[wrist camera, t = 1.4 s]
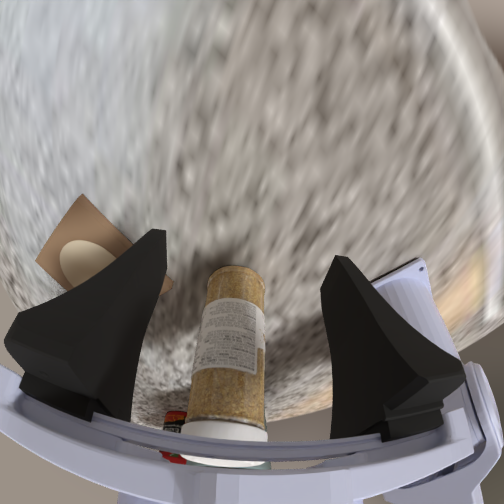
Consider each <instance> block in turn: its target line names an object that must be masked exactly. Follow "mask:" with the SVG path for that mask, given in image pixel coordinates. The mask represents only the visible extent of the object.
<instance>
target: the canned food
mask: <svg viewBox="0 0 504 504" xmlns="http://www.w3.org/2000/svg"><path fill="white" fill-rule="evenodd" d="M186 417H187V412H181V411H170V412H168V413H167V414H166V416H165V420H164V426H163V430H164V431H170V432H175V433H181V428H182V426H183V425H184V424H185V418H186ZM159 452H160V453H161V454H162V458H165V459H167V460H169V461H170V463H176V464H183V465H186V462H187V459H185V458H183V457H182V456H181V455H180V454H176V453H171V452H166V451H161V450H159Z"/></svg>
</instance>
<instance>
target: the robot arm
mask: <svg viewBox="0 0 504 504" xmlns="http://www.w3.org/2000/svg"><path fill="white" fill-rule="evenodd" d="M420 267H421V268H420ZM166 270H167V249H166V230H159V229H151V230H150V231H149V232H147V233H146V234H145V235H144V236H143V237H142V238H140V239H139V240H138V241H137V242H136V243H135V244H133V245H132V246H131V247H130V248H129V249H128V250H126V251H125V252H124V253H123V254H122V255H121V256H119V257H118V258H117V259H115V260H114V261H113V262H112V263H110V264H109V265H108V266H107V267H105V268H104V269H103V270H101V271H100V272H98V273H97V274H95V275H94V276H92V277H91V278H89V279H88V280H86V281H85V282H83V283H81V284H80V285H78V286H76V287H74V288H73V289H71V290H69V291H67V292H66V293H64V294H62V295H60V296H58V297H56V298H54V299H52V300H49V301H47V302H45V303H43V304H40V305H38V306H35V307H33V308H30V309H27V310H25V311H22V312H19V313H18V315H17V316H16V318H15V320H14V322H13V324H12V326H11V327H10V329H9V331H8V333H7V335H6V337H5V339H4V344H5V347H6V349H7V351H8V352H9V353H10V355H11V356H12V357H13V358H14V359H15V360H16V362H17V363H18V364H19V365H20V366H21V367H22V368H23V369H24V371H25V373H24V375H23V377H21V376H20V375H19V374H17V373H15V372H14V371H12V370H10V369H9V368H6V367H5V366H3V365H1V364H0V432H2V433H3V434H5V435H6V436H8V437H9V438H11V439H12V440H14V441H15V442H17V443H18V444H20V445H21V446H23V447H25V448H26V449H28V450H29V451H31V452H33V453H35V454H36V455H38V456H40V457H41V458H44V459H45V460H47V461H49V462H51V463H53V464H55V465H56V466H58V467H60V468H62V469H65V470H67V471H69V472H71V473H73V474H75V475H77V476H80V477H82V478H84V479H87V480H89V481H92V482H94V483H97V484H99V485H102V486H105V487H107V488H111V489H113V490H116V491H119V493H118V502H117V504H363V499H365V498H369V497H372V496H376V495H379V494H383V496H384V499H385V500H386V501H388V502H390V503H394V504H484V503H483V498H482V493H481V488H480V483H481V481H482V480H483V479H484V478H485V477H486V475H487V474H488V473H489V472H490V470H491V469H492V467H493V466H494V465H495V464H496V462H497V461H498V459H499V458H500V456H501V449H502V447H503V435H502V429H501V424H500V418H499V414H498V410H497V406H496V403H495V400H494V397H493V394H492V391H491V388H490V386H489V383H488V380H487V378H486V376H485V374H484V371H483V369H482V368H481V366H480V365H479V364H476V363H473V362H468V363H467V364H466V365H464V364H463V363H462V362H461V360H460V357H459V355H458V352H457V350H456V348H455V345H454V343H453V341H452V338H451V336H450V334H449V332H448V329H447V327H446V325H445V323H444V321H443V319H442V317H441V315H440V313H439V310H438V308H437V306H436V304H435V303H434V301H433V298H432V292H431V287H430V282H429V278H428V273H427V269H426V264H425V261H424V260H423V259H422V258H418V259H416V260H414V261H413V262H411V263H409V264H407V265H405V266H403V267H402V268H400V269H398V270H396V271H394V272H392V273H390V274H388V275H386V276H384V277H382V278H381V279H379V280H377V281H375V282H373V283H370V282H369V281H368V279H367V278H366V277H365V276H364V275H363V273H362V272H361V271H360V270H359V269H358V268H357V266H356V265H355V264H354V263H353V262H352V261H351V260H350V259H349V258H348V257H344V256H338V255H335V257H334V259H333V261H332V264H331V266H330V268H329V270H328V273H327V275H326V277H325V279H324V281H323V284H322V286H321V288H320V292H321V306H322V312H323V317H324V322H325V327H326V332H327V337H328V342H329V347H330V353H331V361H332V378H333V405H332V422H331V433H330V440H317V441H297V442H262V441H241V440H228V439H217V438H208V437H201V436H193V435H187V434H181V433H175V432H170V431H164V430H159V429H155V428H150V427H146V426H142V425H138V424H133V423H130V421H131V409H132V399H133V391H134V384H135V378H136V372H137V367H138V361H139V356H140V352H141V347H142V343H143V339H144V335H145V332H146V329H147V326H148V323H149V321H150V318H151V315H152V313H153V310H154V307H155V305H156V302H157V300H158V297H159V294H160V292H161V289H162V286H163V282H164V278H165V274H166ZM138 445H139V446H138ZM141 446H143V447H141ZM144 447H147V448H151V449H157V450H161V451H166V452H171V453H176V454H182V455H189V456H196V457H203V458H212V459H222V460H235V461H258V462H280V461H281V462H283V461H306V460H318V459H329V458H335V459H329V460H325V461H324V462H323V463H321V464H318V465H315V466H312V467H308V468H306V469H280V470H257V469H228V468H213V467H202V466H192V465H183V464H176V463H170V461H169V460H167V459H165V458H162V454H161V453H160V452H157V451H153V450H150V449H146V448H144ZM336 457H339V458H336Z"/></svg>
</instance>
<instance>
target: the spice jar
mask: <svg viewBox="0 0 504 504" xmlns="http://www.w3.org/2000/svg"><path fill="white" fill-rule="evenodd" d="M207 291H208V293H207V298H206V304H205V308H204V310H203V313H202V318H201V323H200V329H199V334H198V340H197V346H196V352H195V358H194V363H193V369H192V375H191V380H192V383H191V390H190V396H189V403H188V411H187V417H186V418H185V424H184V425H183V426H182V428H181V434H187V435H193V436H201V437H208V438H217V439H228V440H241V441H262V442H267V433H266V432H265V431H264V430H265V425H264V369H265V360H264V357H265V317H264V293H265V284H264V282H263V280H262V278H261V277H260V276H259V275H258V274H257V273H256V272H254V271H253V270H251V269H249V268H246V267H240V266H225V267H222V268H220V269H218V270H217V271H215V272H214V273H213V274H212V275H211V276H210V277H209V280H208V283H207ZM180 455H181V456H182V457H183V458H185V459H187V460H190V461H193V462H197V463H202V464H207V465H213V466H222V467H250V466H257V465H261V464H263V463H265V462H258V461H235V460H222V459H212V458H203V457H196V456H189V455H182V454H180Z"/></svg>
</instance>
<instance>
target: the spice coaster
mask: <svg viewBox="0 0 504 504" xmlns="http://www.w3.org/2000/svg"><path fill="white" fill-rule="evenodd" d="M132 245H133V244H132V243H131V242H130V241H129V240H128V239H127V238H126V237H125V236H124V235H123V234H122V233H121V232H120V231H119V230H118V229H117V228H116V227H115V226H114V225H113V224H112V223H111V222H110V221H109V220H108V219H107V218H106V217H105V216H104V215H103V214H102V213H101V212H100V211H99V210H98V209H97V208H96V207H95V206H94V205H93V204H92V203H91V202H90V201H89V200H88V199H87V198H86V197H85V196H84V195H83V194H82V195H80V196H79V197H78V198H77V200H76V201H75V202H74V203H73V205H72V206H71V207H70V209H69V210H68V212H67V213H66V214H65V216H64V217H63V219H62V220H61V221H60V223H59V224H58V226H57V227H56V229H55V230H54V232H53V233H52V235H51V236H50V238H49V239H48V241H47V242H46V244H45V245H44V247H43V249H42V250H41V252H40V253H39V255H38V257H37V258H36V260H35V261H36V262H37V263H38V264H39V265H40V266H41V267H42V268H43V269H44V270H45V271H46V272H47V273H48V274H49V275H50V276H51V277H52V278H53V279H54V280H56V281H57V282H58V283H59V284H60V285H61V286H62V287H63V288H65V289H66V290H67V291H69V290H71V289H73V288H74V287H76V286H78V285H80V284H81V283H83V282H85V281H86V280H88V279H89V278H91V277H92V276H94V275H95V274H97V273H98V272H100V271H101V270H103V269H104V268H105V267H107V266H108V265H109V264H110V263H112V262H113V261H114V260H115V259H117V258H118V257H119V256H121V255H122V254H123V253H124V252H125V251H126V250H128V249H129V248H130V247H131V246H132ZM173 283H174V281H172V280H171V279H170V278H169V277H168V276H167V275H166V274H165V278H164V282H163V286H162V289H161V292H160V294H159V296H160V295H162V294H164V293H165V292H167V291H169V290H170V289H172V286H173Z"/></svg>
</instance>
